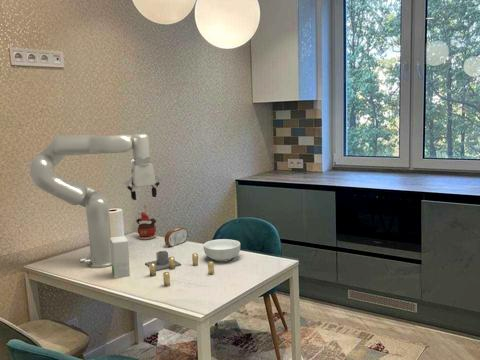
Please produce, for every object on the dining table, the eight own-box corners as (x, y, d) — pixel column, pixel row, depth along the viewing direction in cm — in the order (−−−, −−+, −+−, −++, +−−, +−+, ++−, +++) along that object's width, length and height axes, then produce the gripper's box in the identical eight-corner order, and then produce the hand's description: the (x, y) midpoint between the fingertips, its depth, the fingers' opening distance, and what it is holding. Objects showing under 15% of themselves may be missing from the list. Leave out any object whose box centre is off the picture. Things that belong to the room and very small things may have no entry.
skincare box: (112, 272, 200) (109, 237, 198) (127, 270, 202) (124, 235, 200) (115, 279, 192) (111, 242, 190) (131, 276, 195) (128, 240, 192)
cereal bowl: (233, 266, 202) (232, 250, 201) (198, 263, 208) (197, 247, 207) (246, 254, 218) (245, 239, 217) (213, 251, 224) (212, 237, 222)
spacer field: (165, 286, 181) (164, 274, 180) (146, 273, 197) (146, 262, 196) (215, 273, 193) (214, 262, 193) (194, 262, 209) (193, 251, 208)
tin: (184, 240, 246) (183, 224, 244) (189, 241, 244) (188, 225, 242) (164, 248, 233) (163, 231, 232) (169, 248, 232) (167, 232, 230)
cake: (159, 235, 257) (157, 203, 254) (153, 240, 248) (151, 207, 245) (141, 235, 259) (139, 203, 256) (134, 240, 250) (132, 207, 247)
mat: (155, 271, 199) (155, 269, 199) (145, 264, 209) (145, 262, 209) (181, 265, 206) (181, 263, 206) (169, 258, 216) (169, 257, 216)
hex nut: (160, 266, 204) (159, 254, 203) (155, 263, 209) (155, 251, 208) (169, 263, 207) (169, 252, 206) (165, 260, 211) (164, 250, 210)
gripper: (126, 163, 204) (129, 202, 207) (162, 160, 213) (165, 196, 216) (120, 162, 210) (123, 199, 213) (156, 159, 220) (158, 194, 222)
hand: (144, 198), depth 214 cm, fingers open, 9 cm apart
